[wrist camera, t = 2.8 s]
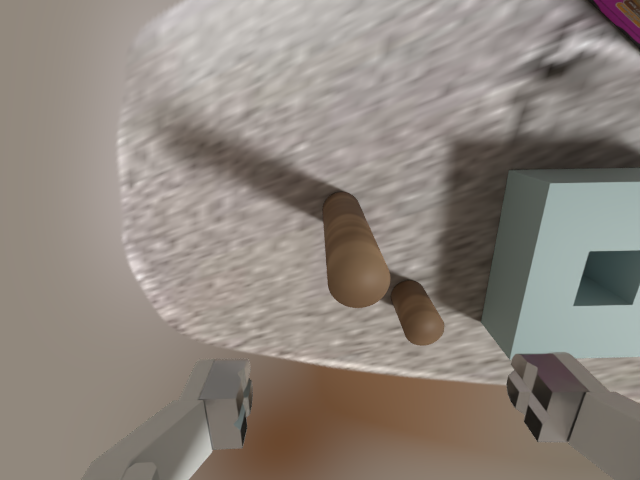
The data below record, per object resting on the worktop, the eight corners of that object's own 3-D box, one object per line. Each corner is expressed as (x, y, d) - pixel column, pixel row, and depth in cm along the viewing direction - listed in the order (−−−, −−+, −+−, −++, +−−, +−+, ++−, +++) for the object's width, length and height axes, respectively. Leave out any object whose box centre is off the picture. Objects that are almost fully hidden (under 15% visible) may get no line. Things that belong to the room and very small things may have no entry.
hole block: (508, 169, 26) (550, 183, 22) (663, 167, 27) (736, 179, 22) (481, 322, 32) (509, 359, 27) (610, 319, 32) (661, 356, 27)
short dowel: (392, 280, 30) (406, 312, 25) (426, 280, 30) (446, 311, 25) (390, 310, 31) (403, 345, 26) (423, 309, 31) (441, 345, 26)
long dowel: (322, 192, 27) (327, 252, 16) (360, 191, 27) (392, 251, 16) (322, 228, 28) (327, 308, 17) (359, 227, 28) (388, 307, 17)
